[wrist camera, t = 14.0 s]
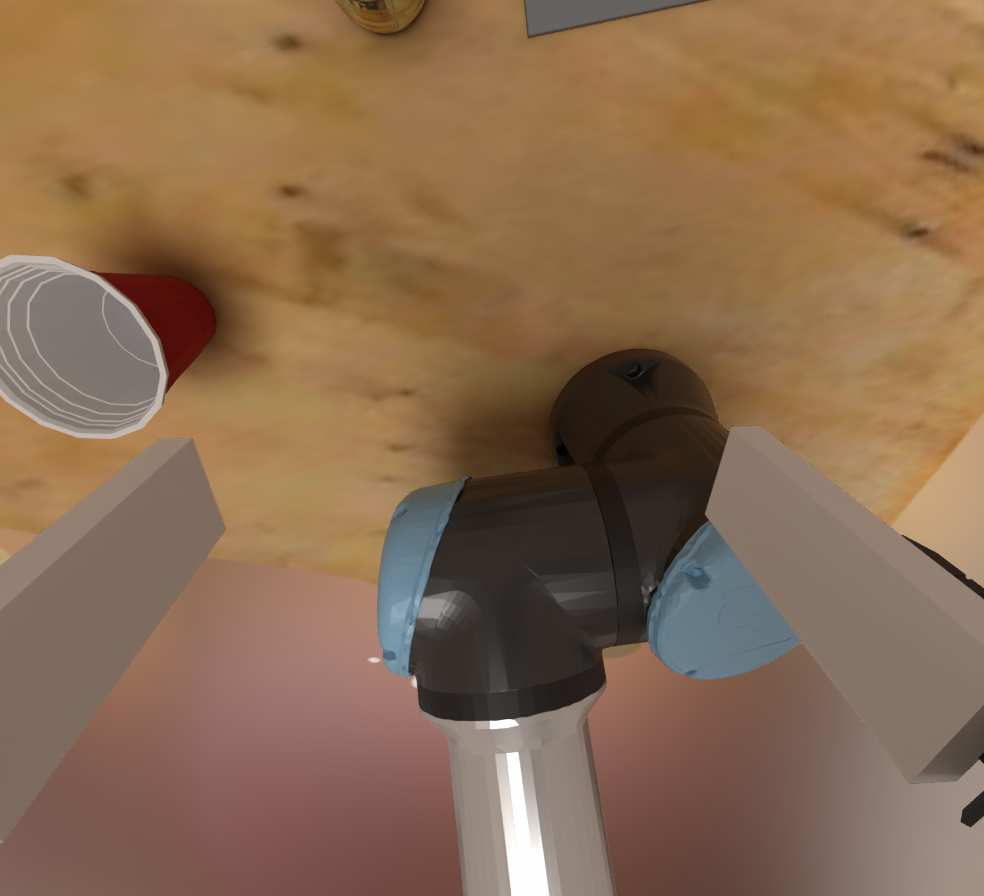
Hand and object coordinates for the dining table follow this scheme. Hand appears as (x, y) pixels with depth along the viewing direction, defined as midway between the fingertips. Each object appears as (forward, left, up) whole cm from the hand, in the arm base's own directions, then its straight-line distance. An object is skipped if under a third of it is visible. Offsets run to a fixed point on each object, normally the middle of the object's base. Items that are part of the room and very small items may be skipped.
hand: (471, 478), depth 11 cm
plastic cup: (+18, +15, -29) cm, 37 cm away
